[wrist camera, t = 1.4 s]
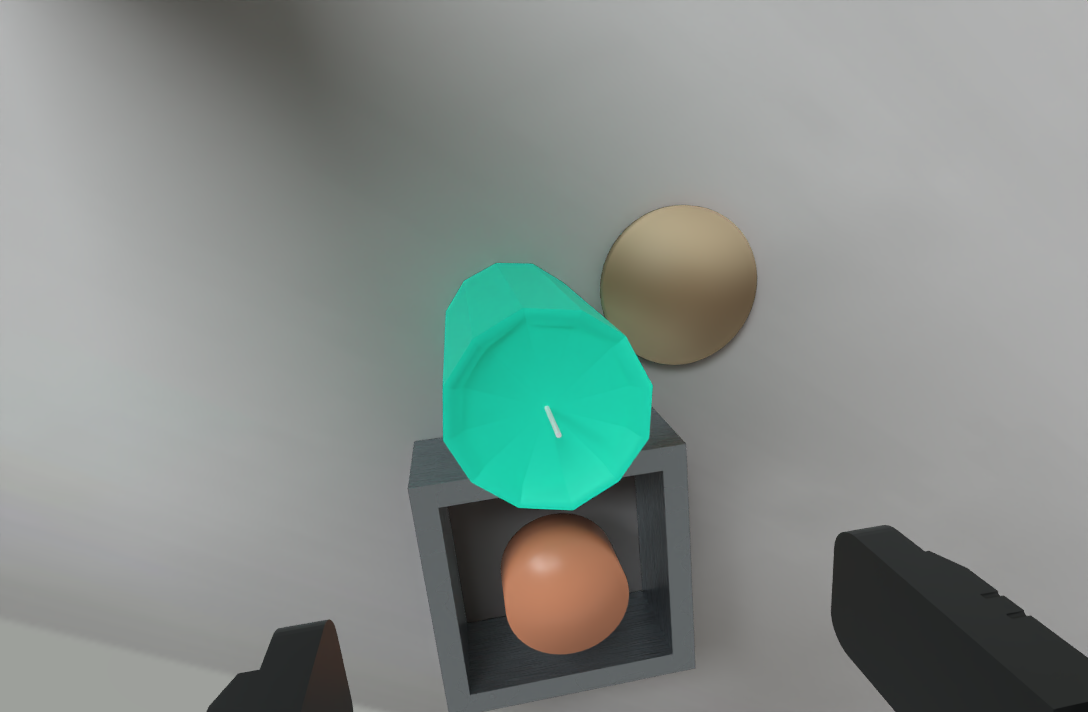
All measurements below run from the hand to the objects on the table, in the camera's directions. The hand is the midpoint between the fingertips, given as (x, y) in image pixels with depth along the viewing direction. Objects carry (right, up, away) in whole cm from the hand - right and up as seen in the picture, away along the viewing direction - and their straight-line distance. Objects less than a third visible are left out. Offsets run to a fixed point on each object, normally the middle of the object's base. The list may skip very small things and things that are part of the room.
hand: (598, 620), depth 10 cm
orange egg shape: (0, -5, +17) cm, 18 cm away
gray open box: (-1, -4, +20) cm, 21 cm away
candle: (-2, +5, +17) cm, 18 cm away
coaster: (+5, +7, +18) cm, 20 cm away
